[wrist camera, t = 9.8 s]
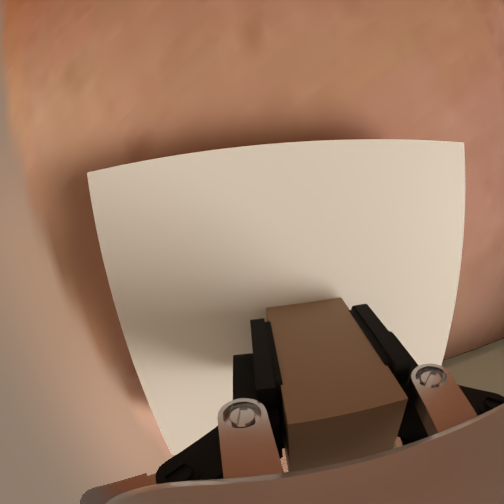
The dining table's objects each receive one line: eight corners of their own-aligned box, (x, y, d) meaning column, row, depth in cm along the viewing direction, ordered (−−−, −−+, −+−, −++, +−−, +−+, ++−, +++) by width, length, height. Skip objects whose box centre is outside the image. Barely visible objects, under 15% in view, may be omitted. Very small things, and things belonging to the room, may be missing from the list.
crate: (412, 369, 18) (461, 440, 12) (534, 324, 18) (583, 363, 12) (380, 475, 22) (401, 530, 16) (490, 430, 23) (518, 470, 16)
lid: (97, 171, 11) (-26, 196, 5) (450, 142, 11) (575, 152, 5) (173, 441, 16) (158, 542, 9) (419, 404, 16) (469, 485, 9)
